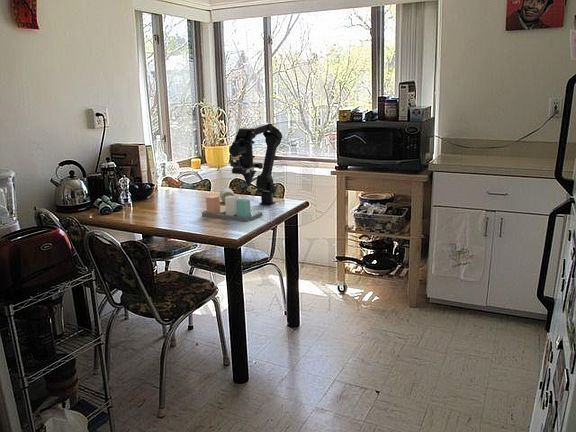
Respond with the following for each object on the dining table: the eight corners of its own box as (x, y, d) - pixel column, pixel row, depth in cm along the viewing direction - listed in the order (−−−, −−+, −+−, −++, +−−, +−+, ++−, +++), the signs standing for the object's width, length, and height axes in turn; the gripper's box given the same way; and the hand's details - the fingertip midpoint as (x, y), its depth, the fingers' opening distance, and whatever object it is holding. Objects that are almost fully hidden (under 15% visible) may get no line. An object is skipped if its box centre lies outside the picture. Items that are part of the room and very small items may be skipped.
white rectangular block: (231, 213, 242) (230, 195, 240) (239, 214, 240) (238, 196, 237) (226, 215, 239) (224, 197, 237) (234, 216, 237) (233, 198, 234)
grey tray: (217, 210, 253) (217, 205, 252) (267, 217, 238) (266, 211, 237) (199, 217, 242) (198, 212, 241) (249, 224, 226) (249, 218, 226)
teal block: (242, 217, 235) (241, 198, 233) (251, 218, 233) (249, 199, 230) (237, 219, 232) (236, 200, 230) (245, 220, 229) (244, 201, 227)
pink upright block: (212, 213, 244) (211, 195, 242) (220, 214, 242) (219, 196, 239) (207, 215, 241) (205, 197, 239) (215, 216, 238) (213, 198, 236)
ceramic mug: (222, 205, 264) (221, 191, 262) (220, 202, 272) (219, 188, 270) (242, 204, 267) (241, 190, 265) (239, 200, 274) (238, 187, 272)
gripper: (244, 150, 256) (246, 180, 260) (221, 155, 240) (224, 187, 244) (262, 151, 250) (264, 182, 254) (240, 156, 235) (242, 189, 239)
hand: (248, 185), depth 248 cm, fingers closed
